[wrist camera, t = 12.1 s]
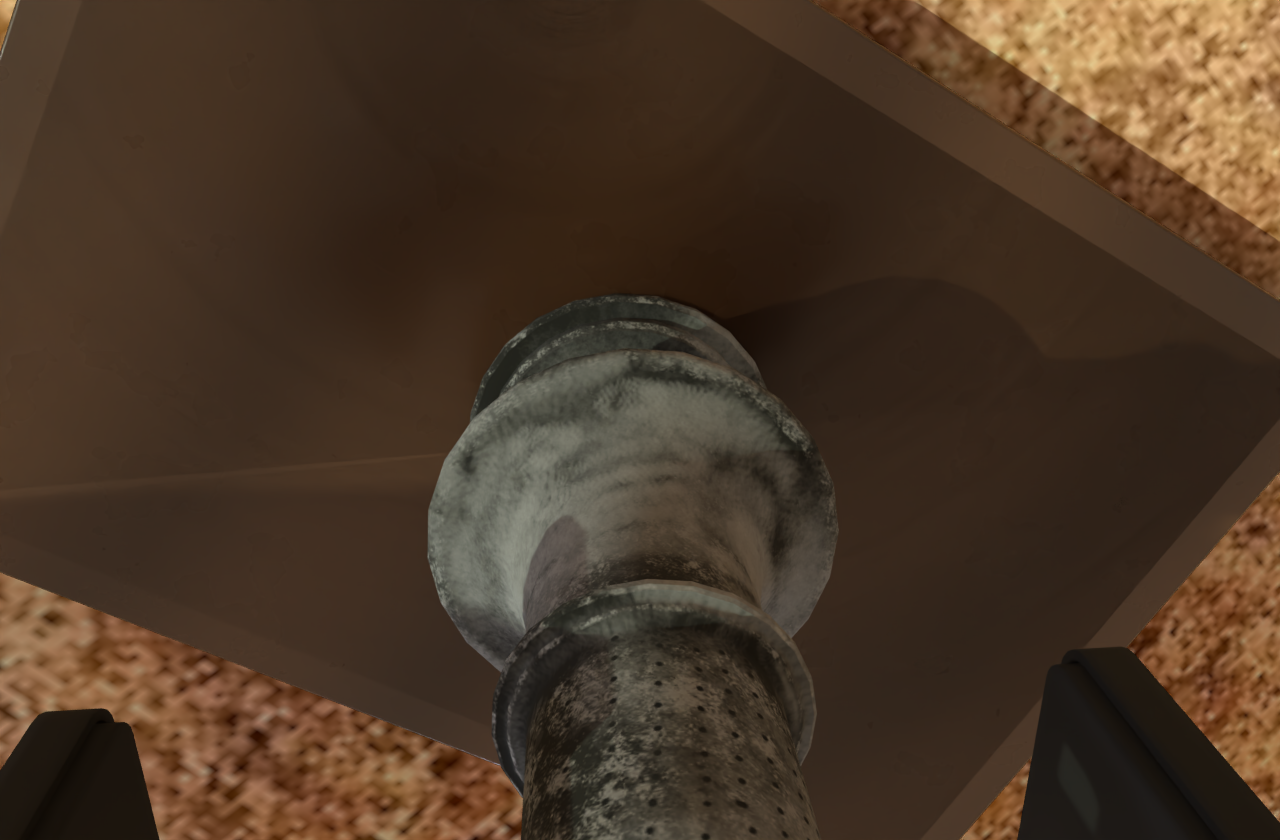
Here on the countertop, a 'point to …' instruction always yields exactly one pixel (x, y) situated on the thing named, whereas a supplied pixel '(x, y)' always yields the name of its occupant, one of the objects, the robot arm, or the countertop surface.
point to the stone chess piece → (639, 575)
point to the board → (579, 269)
